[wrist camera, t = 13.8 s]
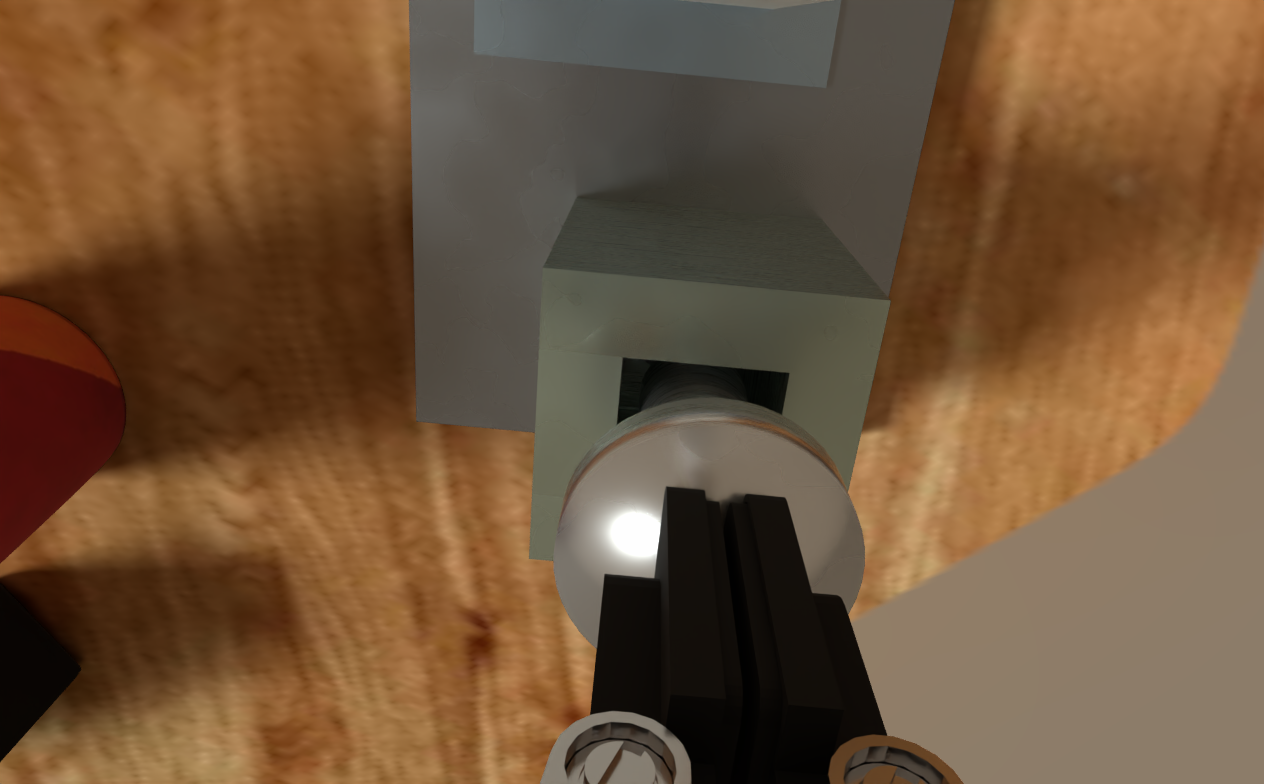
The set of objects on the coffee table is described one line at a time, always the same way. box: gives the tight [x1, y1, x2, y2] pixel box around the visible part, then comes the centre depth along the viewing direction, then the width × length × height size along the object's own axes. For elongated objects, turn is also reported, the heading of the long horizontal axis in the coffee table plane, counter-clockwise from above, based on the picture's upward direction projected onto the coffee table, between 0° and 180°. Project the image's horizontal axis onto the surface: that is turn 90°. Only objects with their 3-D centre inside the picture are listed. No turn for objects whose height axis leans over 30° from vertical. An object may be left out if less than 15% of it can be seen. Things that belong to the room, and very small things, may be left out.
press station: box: [409, 0, 955, 561], centre depth 16 cm, size 20×12×8 cm, turn 175°
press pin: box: [554, 360, 865, 649], centre depth 15 cm, size 4×4×6 cm
